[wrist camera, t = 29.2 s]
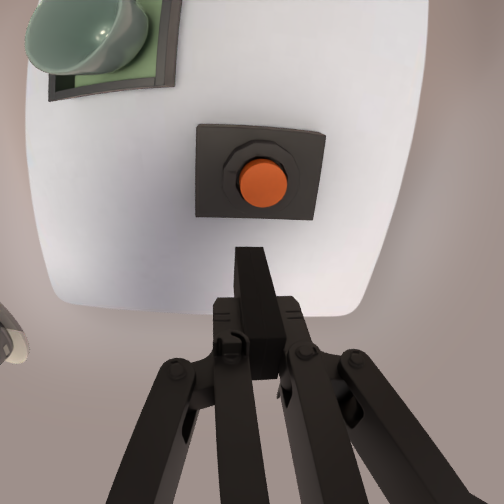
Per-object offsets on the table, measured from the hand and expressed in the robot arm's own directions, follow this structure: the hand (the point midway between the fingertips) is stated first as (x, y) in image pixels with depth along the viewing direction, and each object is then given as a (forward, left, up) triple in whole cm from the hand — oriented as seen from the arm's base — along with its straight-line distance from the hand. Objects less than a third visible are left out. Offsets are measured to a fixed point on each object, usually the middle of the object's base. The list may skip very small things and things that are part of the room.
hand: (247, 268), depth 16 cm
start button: (+2, +2, -12) cm, 12 cm away
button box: (+2, +2, -15) cm, 15 cm away
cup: (-12, +15, -14) cm, 24 cm away
